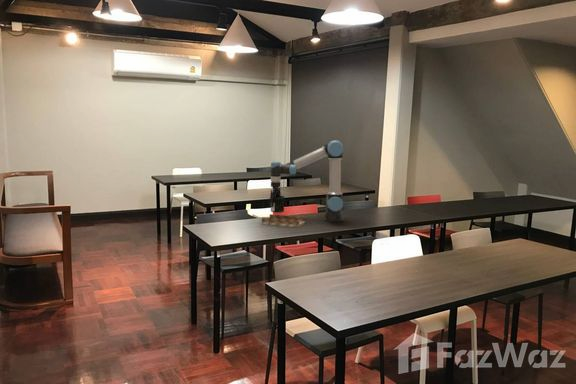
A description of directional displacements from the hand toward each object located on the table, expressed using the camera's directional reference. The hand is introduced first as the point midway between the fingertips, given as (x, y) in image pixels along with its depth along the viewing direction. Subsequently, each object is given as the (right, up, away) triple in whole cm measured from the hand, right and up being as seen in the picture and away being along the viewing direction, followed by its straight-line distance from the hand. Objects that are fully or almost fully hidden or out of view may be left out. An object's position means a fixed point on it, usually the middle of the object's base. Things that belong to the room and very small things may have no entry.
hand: (275, 209), depth 364 cm
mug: (0, -1, +1) cm, 2 cm away
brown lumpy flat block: (+7, -11, -1) cm, 13 cm away
